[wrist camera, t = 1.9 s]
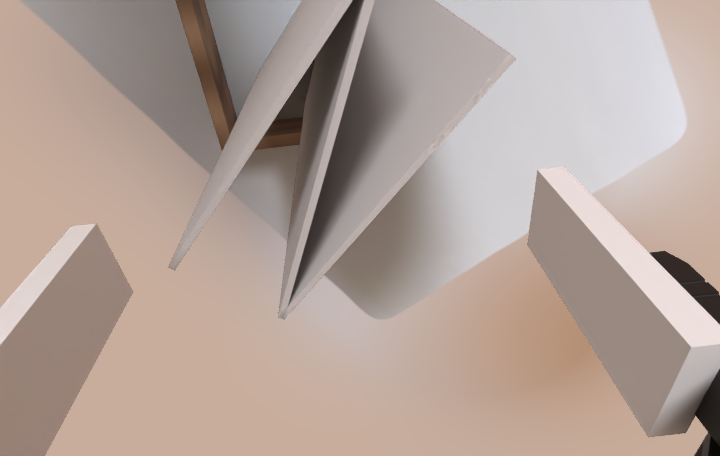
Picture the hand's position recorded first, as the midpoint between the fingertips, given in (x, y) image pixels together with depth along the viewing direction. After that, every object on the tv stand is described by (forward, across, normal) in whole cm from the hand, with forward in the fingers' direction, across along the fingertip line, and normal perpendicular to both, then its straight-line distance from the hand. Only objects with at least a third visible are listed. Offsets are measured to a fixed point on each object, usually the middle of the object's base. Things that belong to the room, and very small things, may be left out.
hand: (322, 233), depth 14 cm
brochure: (+34, 0, 0) cm, 34 cm away
